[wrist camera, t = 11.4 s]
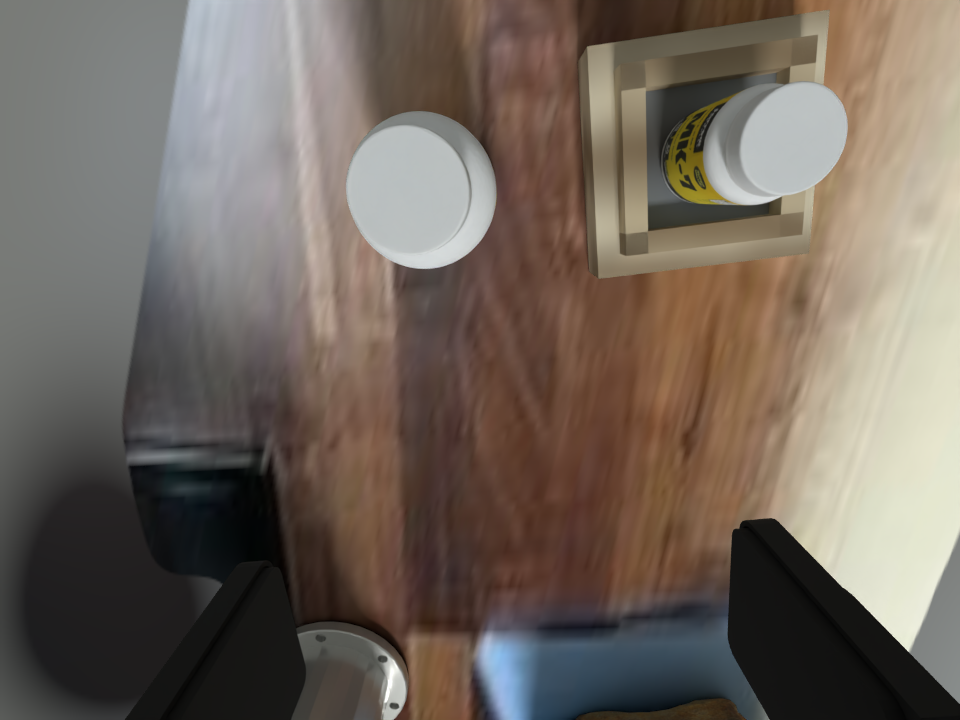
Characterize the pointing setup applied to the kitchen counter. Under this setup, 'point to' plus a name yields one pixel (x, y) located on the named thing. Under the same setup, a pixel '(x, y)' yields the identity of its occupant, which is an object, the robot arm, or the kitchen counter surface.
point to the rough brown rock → (676, 712)
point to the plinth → (649, 120)
